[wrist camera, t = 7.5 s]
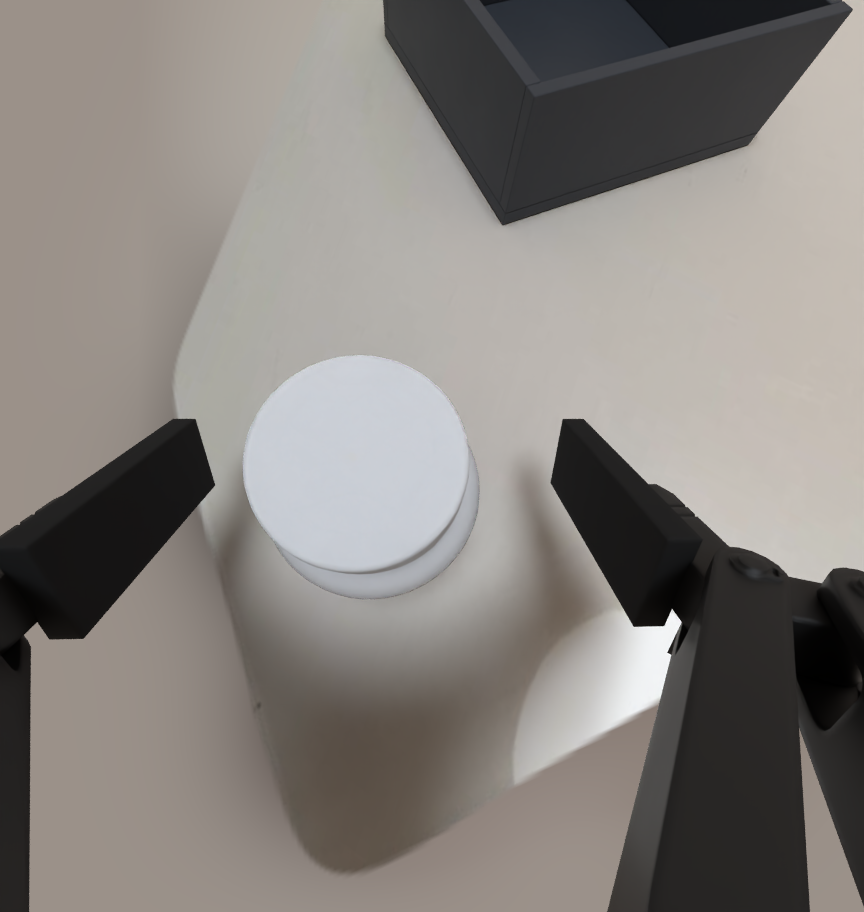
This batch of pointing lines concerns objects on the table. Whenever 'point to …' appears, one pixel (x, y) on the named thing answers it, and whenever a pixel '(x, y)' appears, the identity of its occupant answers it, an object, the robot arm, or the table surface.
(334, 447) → the pill bottle
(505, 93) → the tray
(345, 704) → the table surface
